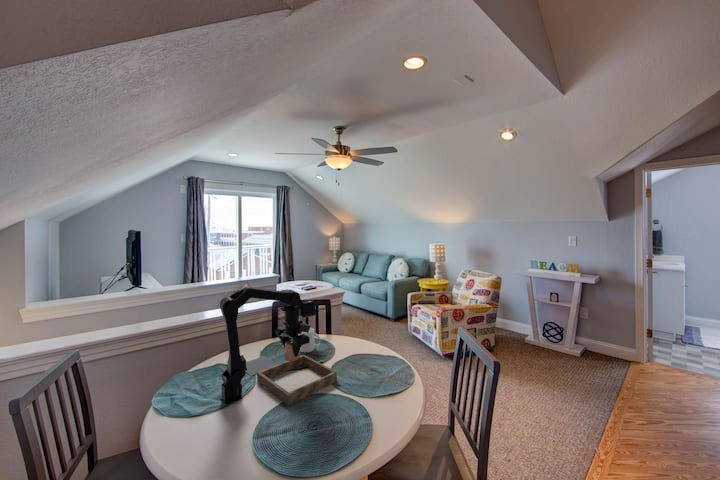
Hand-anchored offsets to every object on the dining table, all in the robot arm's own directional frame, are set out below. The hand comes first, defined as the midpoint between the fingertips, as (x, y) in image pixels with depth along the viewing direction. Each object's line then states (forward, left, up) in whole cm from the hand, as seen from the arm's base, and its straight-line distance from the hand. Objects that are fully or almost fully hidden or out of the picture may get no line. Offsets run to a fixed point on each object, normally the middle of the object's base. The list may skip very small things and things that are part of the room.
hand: (292, 354), depth 131 cm
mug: (+24, +19, -12) cm, 33 cm away
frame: (+1, -3, -11) cm, 12 cm away
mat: (-4, +22, -11) cm, 25 cm away
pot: (0, 0, -2) cm, 2 cm away
